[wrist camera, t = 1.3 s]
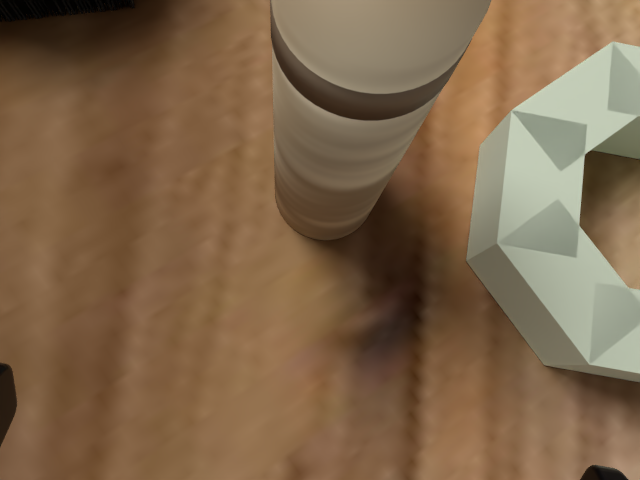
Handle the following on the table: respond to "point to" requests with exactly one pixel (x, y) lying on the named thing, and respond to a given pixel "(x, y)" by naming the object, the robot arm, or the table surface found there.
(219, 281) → the table surface
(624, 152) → the sage ashtray
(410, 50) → the maple peg
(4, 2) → the cpu cooler
